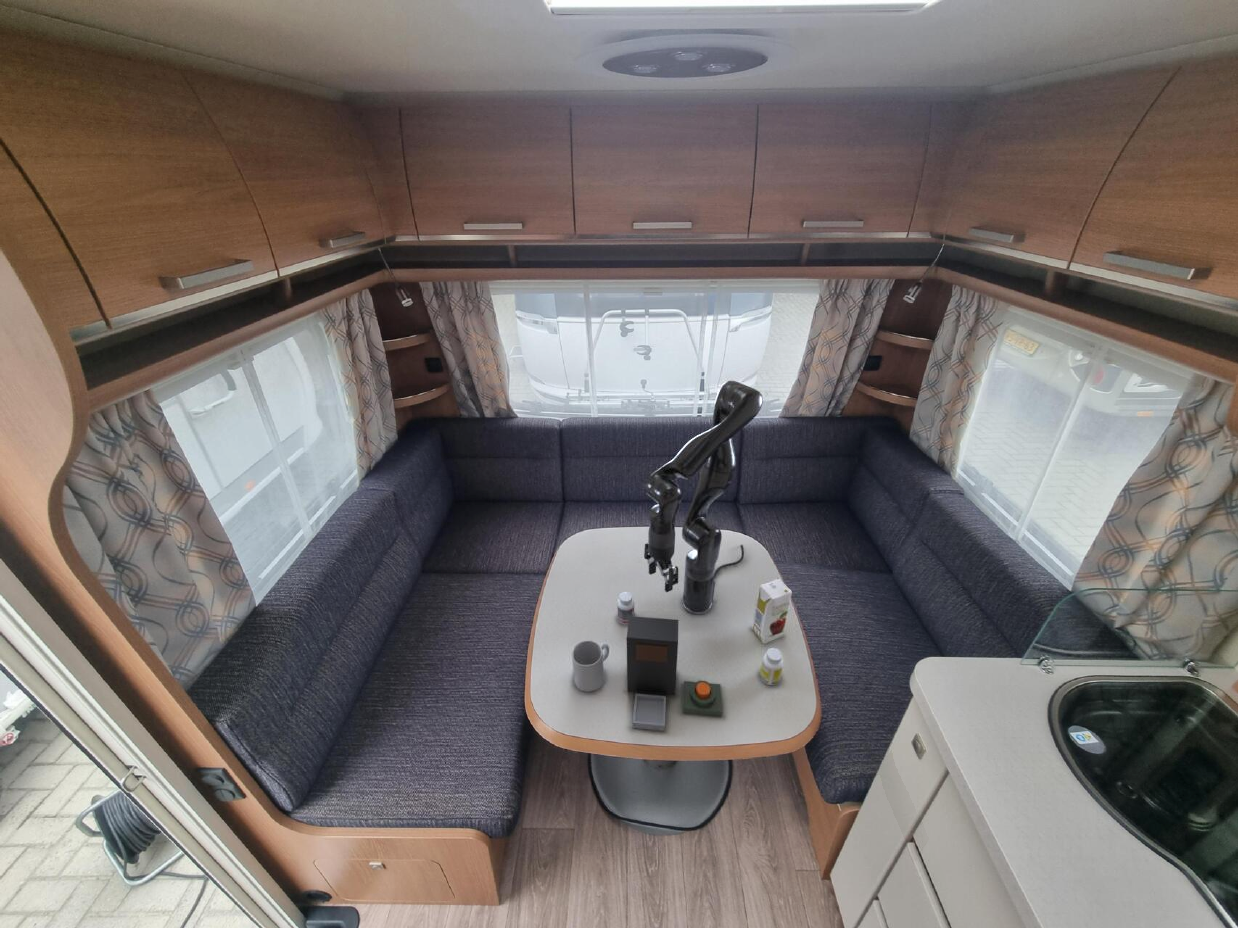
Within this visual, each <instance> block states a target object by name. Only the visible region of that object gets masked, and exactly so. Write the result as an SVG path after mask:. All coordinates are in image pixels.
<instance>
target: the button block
mask: <svg viewBox="0 0 1238 928" xmlns="http://www.w3.org/2000/svg"><path fill="white" fill-rule="evenodd" d="M701 682H704V683H706V684H708V685H709V687H710V695H709V697H708V698H705V699H702V698H700V697H698V696H697V694H696V687H697V685H698V684H699V683H701ZM682 684H683V685H682V686H683V687H682V688H683V689H682V691H683V692H682V693H683V694H682V699H683V700H682V701H683V702H682V706H683V707H682V710H683V711H682V713H683V714H692V715H702V716H711V717H712V716H713V717H723V700H722V699H723V698H722V686H721V684H720V683H712V682H711V683H710V682H708V681H706V680H697V681H691V680H683V683H682Z"/></svg>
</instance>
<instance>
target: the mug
mask: <svg viewBox="0 0 1238 928" xmlns="http://www.w3.org/2000/svg"><path fill="white" fill-rule="evenodd" d="M603 650H604V652H603ZM609 655H610V646H609V644H608V642H602V643H600V644H599V643H598V642H596V641H593V640H583V641H581V642H578V643H577V644H576V645H575V646H574V647H573V648H572V651H571V661H572V671H573V681H574V684H575V687H577V688H578V689H579V690H580V691H582V692H587V693H588V692H589V693H590V692H594V691H596V690H598V689H599V688H601V686H602V685H603V683H604V680H605V670H604V669H605V668H604V662H605V661H606V660H607V659H608V657H609Z"/></svg>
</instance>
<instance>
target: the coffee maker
mask: <svg viewBox="0 0 1238 928" xmlns="http://www.w3.org/2000/svg"><path fill="white" fill-rule="evenodd" d="M679 621H680V620H679V619H672V618H661V617H647V616H635V615H634V616H629V621H628V624H627V630H626V637H625V638H626V685H627V686H626V687H627V689H626V690H627V692H631V693H632V692H633V693H635V695H634V705H633V706H634V707H633V715H632V716H633V717H632V728H633V729H639V730H651V731H660V732H666V730H665V729H666V710H667V709H666V708H667V707H666V706H667V696H673V697H675V696H676V683H677V670H678V669H677V665H678V654H679V653H678V652H679V651H678V650H679Z"/></svg>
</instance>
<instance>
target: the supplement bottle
mask: <svg viewBox="0 0 1238 928" xmlns="http://www.w3.org/2000/svg"><path fill="white" fill-rule="evenodd" d="M761 661H762V662H761V666H760V667H761V668H760V672H759V676H760V679H761V680H762V681H763V683H765V684H766V685H769V686H776V685H777V684H778V683H779V682H780V679H781V675H782V672H783V667H784V661H783V654H782V651H780V650H779V649H778V648H775V647H770V648H768V649H767V650H766V653H765V654H764V655H763V657H762V660H761Z"/></svg>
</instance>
